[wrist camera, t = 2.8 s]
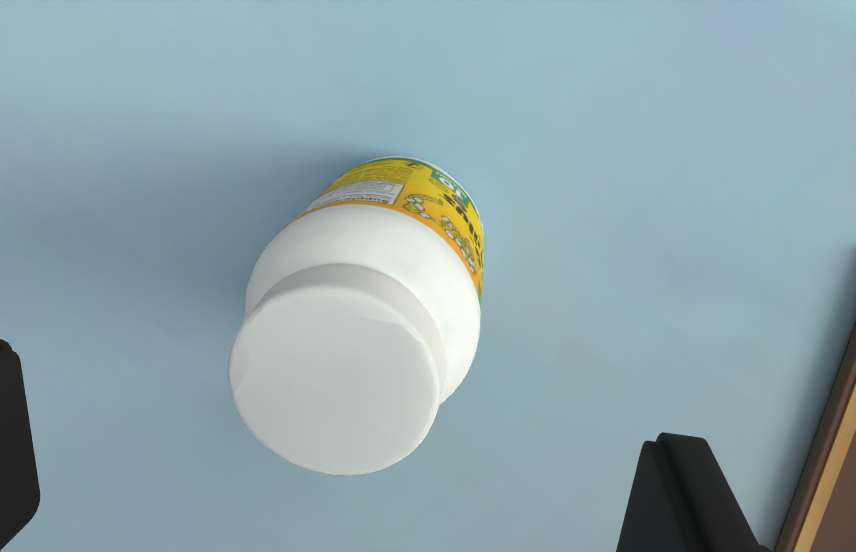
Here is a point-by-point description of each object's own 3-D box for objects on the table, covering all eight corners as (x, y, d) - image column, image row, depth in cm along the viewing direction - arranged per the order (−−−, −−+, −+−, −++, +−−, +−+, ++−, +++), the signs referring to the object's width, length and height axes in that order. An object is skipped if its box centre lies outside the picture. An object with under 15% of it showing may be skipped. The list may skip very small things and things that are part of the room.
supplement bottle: (302, 168, 20) (149, 268, 11) (470, 139, 19) (448, 221, 10) (341, 323, 22) (234, 517, 13) (496, 302, 21) (498, 493, 12)
